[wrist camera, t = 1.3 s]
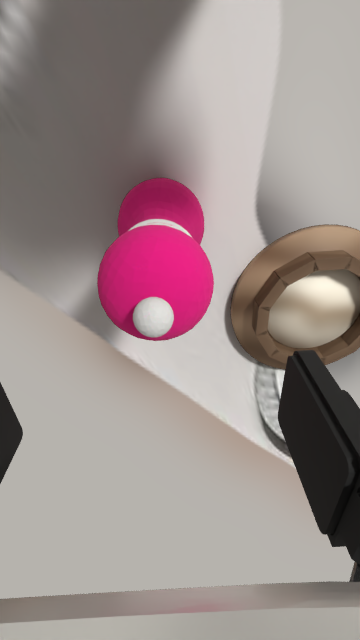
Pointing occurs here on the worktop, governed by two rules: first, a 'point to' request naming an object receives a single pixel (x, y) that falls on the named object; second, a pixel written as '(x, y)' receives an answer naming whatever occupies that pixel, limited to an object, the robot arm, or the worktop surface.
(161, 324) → the pepper mill
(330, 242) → the round tray
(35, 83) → the worktop surface
